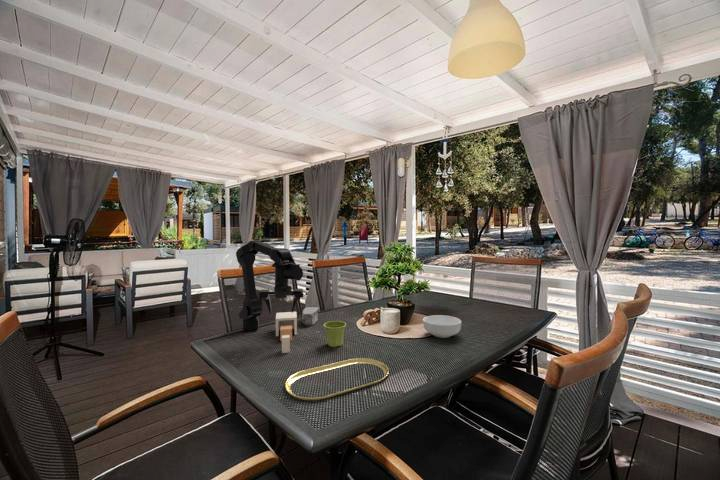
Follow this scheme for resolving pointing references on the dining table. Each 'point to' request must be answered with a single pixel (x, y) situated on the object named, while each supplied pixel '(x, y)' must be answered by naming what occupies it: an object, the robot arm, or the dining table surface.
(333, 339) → the plant pot
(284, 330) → the cream and brown mallet
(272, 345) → the dining table surface
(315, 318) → the decorative stone
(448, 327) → the cereal bowl
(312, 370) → the serving platter
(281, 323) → the white open box
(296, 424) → the dining table surface
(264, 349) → the dining table surface
